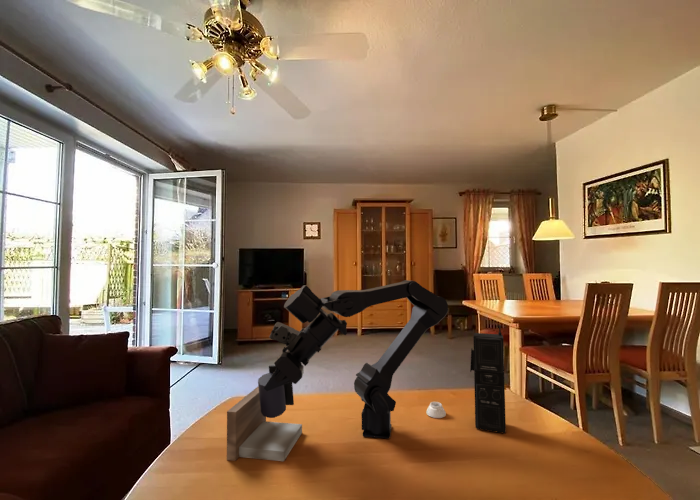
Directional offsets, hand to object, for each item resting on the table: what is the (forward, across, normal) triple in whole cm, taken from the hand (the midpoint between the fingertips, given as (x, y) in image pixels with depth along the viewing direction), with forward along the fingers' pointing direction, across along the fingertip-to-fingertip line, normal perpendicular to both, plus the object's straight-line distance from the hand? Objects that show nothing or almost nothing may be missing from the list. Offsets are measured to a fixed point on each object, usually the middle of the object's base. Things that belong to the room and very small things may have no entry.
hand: (268, 384), depth 77 cm
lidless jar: (-20, -13, +40) cm, 46 cm away
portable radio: (-28, -6, +48) cm, 55 cm away
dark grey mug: (+4, -2, +6) cm, 7 cm away
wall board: (+9, 0, +10) cm, 13 cm away
